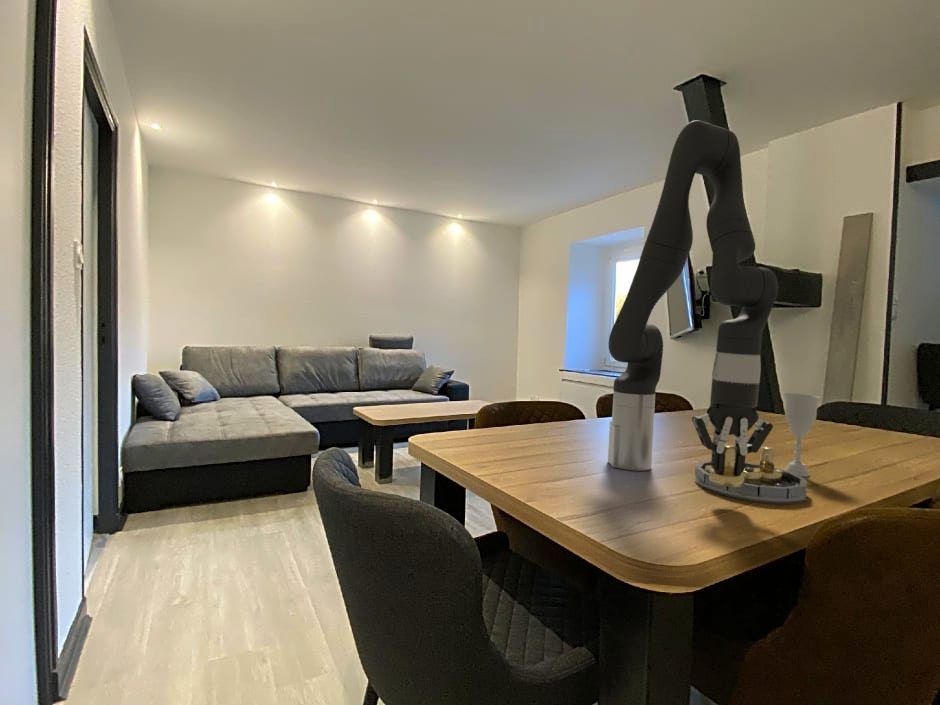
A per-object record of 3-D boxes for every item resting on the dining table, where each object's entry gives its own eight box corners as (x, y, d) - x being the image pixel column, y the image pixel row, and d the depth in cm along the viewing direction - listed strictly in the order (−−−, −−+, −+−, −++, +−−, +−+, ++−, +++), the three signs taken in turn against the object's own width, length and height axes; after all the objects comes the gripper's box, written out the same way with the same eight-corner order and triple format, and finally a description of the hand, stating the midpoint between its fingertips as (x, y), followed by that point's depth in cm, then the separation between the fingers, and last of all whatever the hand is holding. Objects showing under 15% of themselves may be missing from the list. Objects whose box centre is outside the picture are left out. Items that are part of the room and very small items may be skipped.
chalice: (771, 468, 120) (776, 393, 119) (798, 468, 121) (804, 393, 120) (794, 477, 113) (799, 397, 112) (822, 478, 113) (828, 398, 112)
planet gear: (715, 485, 89) (719, 449, 89) (704, 476, 95) (707, 441, 95) (749, 488, 89) (752, 451, 88) (735, 478, 94) (739, 443, 94)
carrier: (717, 500, 95) (720, 459, 95) (681, 471, 115) (683, 437, 114) (829, 507, 93) (832, 465, 93) (773, 476, 113) (776, 441, 113)
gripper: (702, 378, 88) (694, 476, 89) (787, 383, 86) (777, 483, 87) (688, 374, 95) (680, 464, 96) (766, 378, 94) (757, 470, 95)
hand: (727, 472), depth 92 cm, fingers closed on planet gear, 2 cm apart
